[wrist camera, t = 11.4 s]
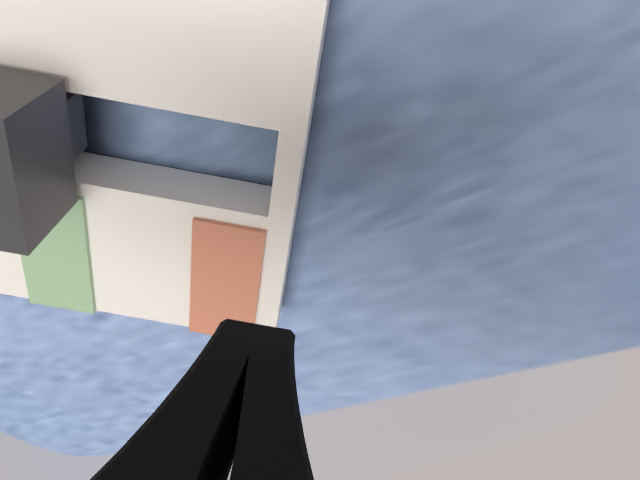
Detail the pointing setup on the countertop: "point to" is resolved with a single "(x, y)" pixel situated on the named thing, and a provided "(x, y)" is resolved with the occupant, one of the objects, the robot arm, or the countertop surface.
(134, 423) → the countertop surface
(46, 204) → the switch handle
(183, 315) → the switch board
